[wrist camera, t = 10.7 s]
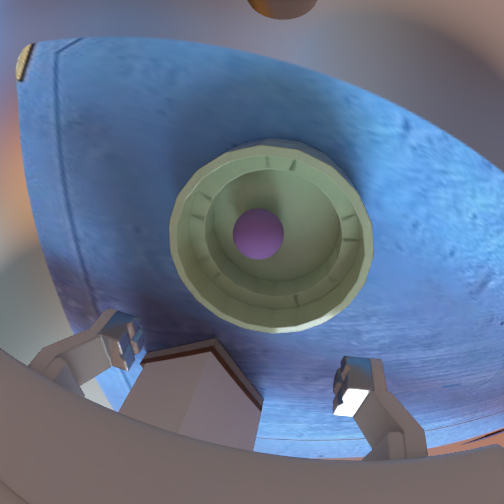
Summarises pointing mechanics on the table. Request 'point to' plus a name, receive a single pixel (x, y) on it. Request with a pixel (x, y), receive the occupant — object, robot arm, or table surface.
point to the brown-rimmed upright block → (196, 395)
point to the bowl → (294, 242)
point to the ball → (258, 233)
